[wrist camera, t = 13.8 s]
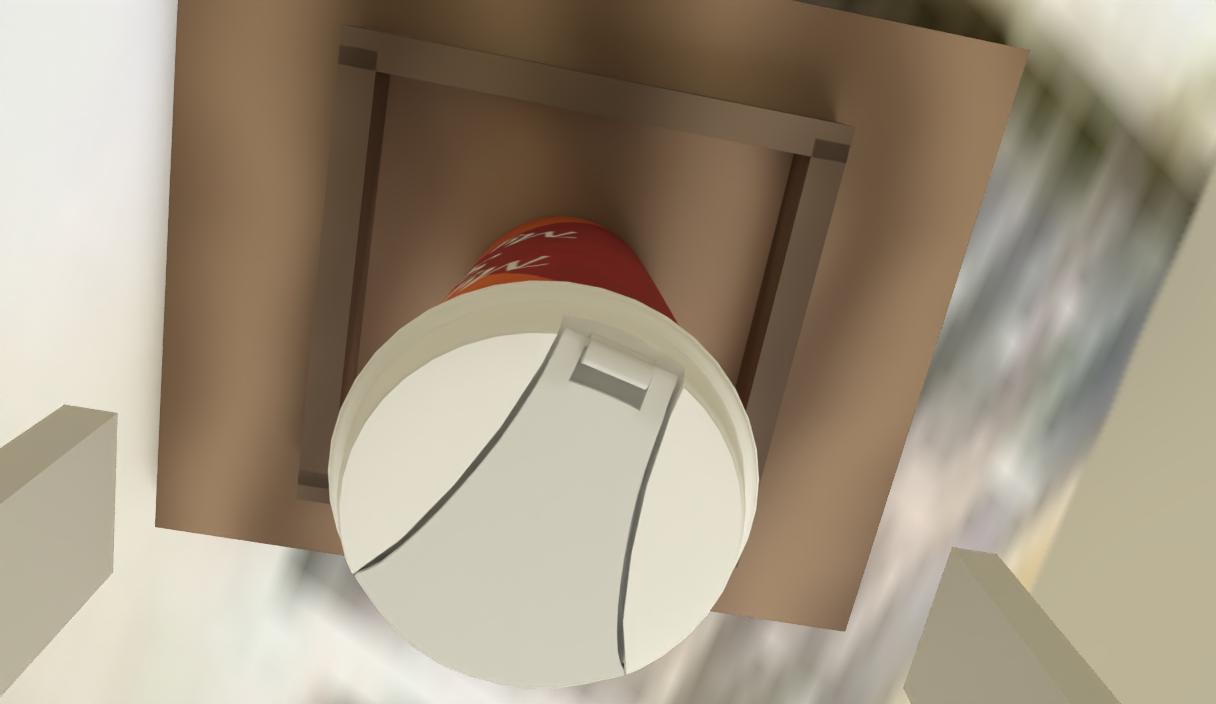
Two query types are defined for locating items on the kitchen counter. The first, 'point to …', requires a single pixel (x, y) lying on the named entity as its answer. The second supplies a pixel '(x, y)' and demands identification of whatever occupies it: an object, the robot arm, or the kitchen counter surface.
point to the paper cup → (544, 467)
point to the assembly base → (576, 187)
